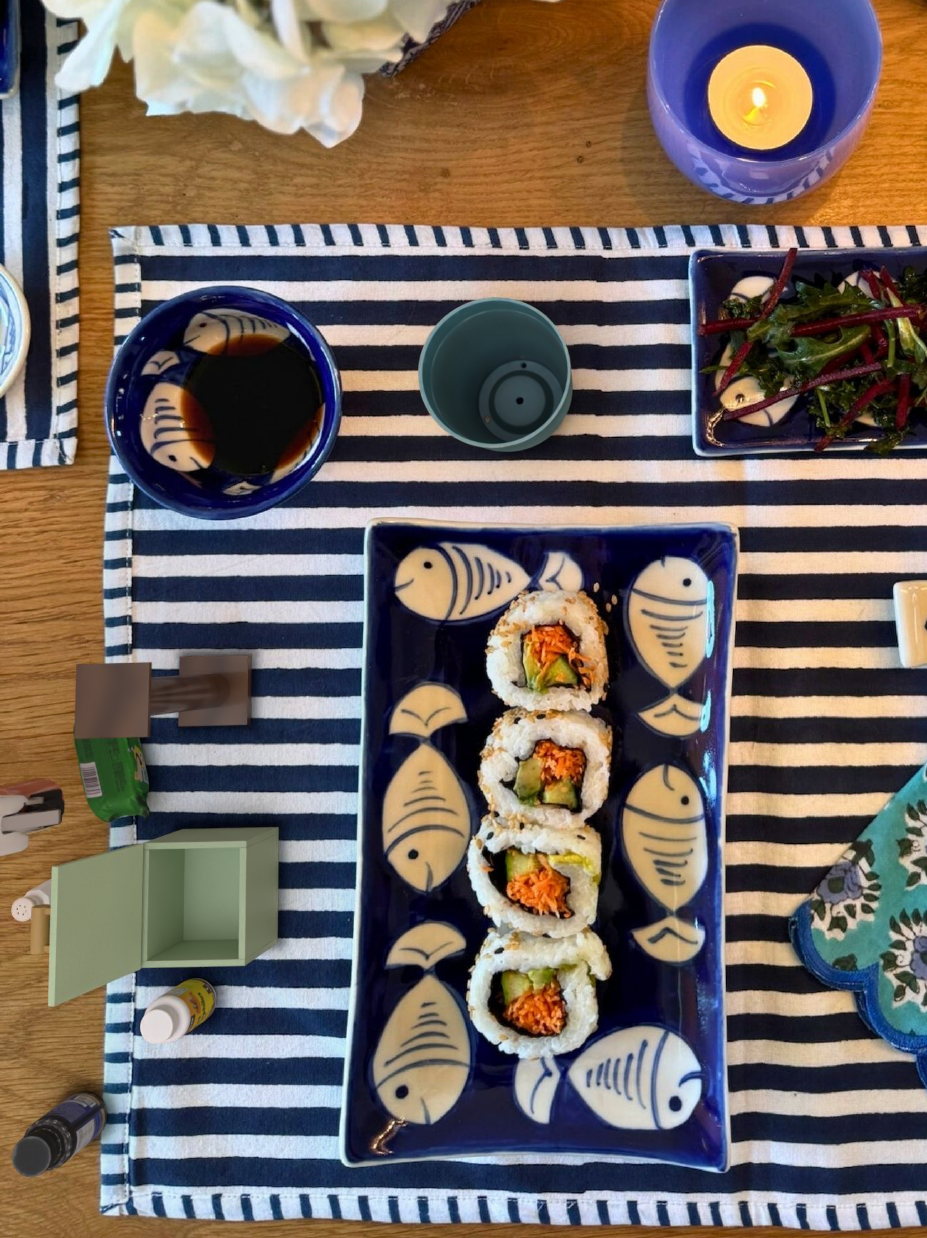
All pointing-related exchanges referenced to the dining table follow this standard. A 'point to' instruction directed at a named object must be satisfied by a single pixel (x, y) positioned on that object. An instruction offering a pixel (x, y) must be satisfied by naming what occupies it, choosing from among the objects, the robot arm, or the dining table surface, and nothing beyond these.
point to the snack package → (113, 776)
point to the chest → (209, 897)
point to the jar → (29, 791)
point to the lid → (91, 922)
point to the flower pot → (496, 374)
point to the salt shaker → (31, 901)
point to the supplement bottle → (178, 1011)
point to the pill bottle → (59, 1134)
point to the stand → (161, 695)
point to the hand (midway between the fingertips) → (27, 807)
